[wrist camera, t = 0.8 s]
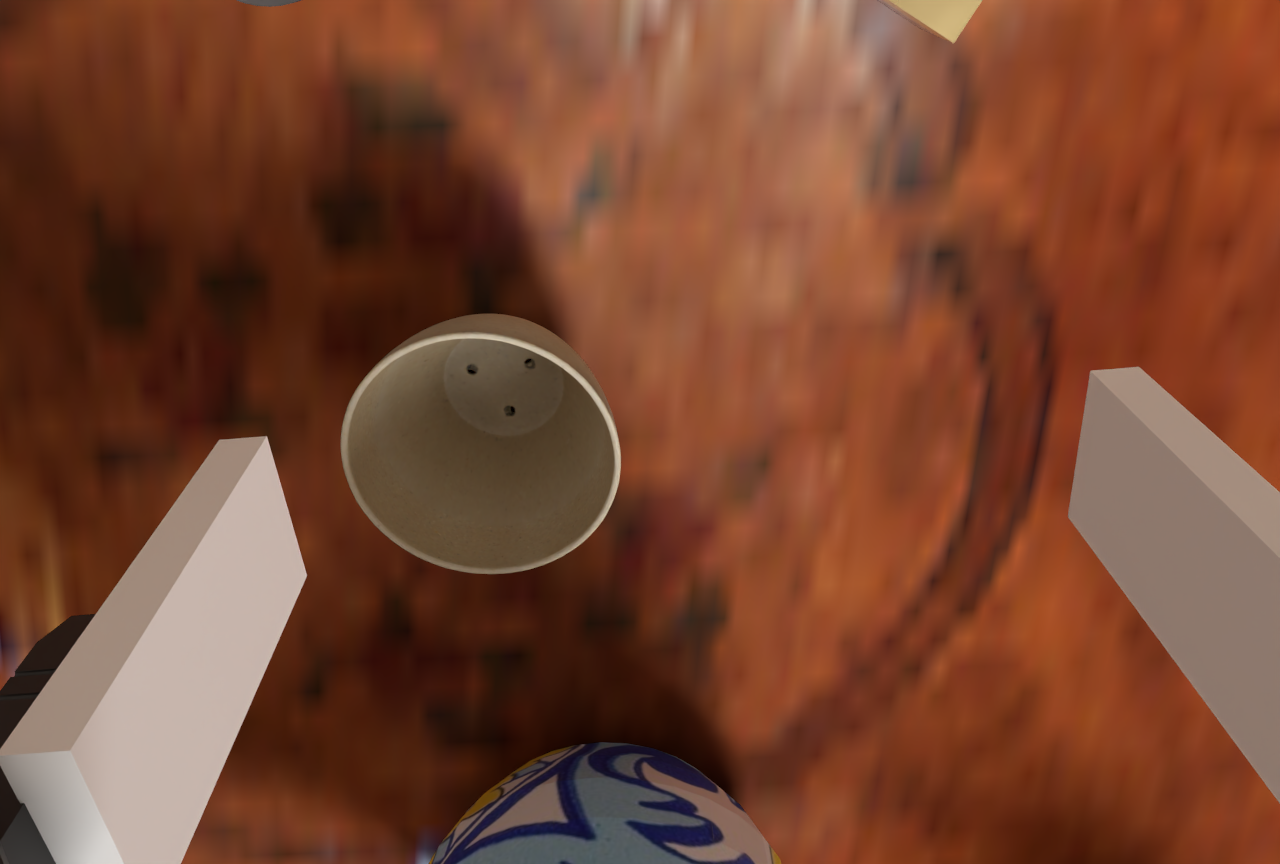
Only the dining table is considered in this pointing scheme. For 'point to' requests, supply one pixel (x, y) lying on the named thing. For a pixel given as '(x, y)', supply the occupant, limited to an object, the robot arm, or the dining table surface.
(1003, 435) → the dining table surface
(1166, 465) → the robot arm
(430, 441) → the flower pot
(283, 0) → the pin
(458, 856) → the table lamp
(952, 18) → the bar with brass collar
